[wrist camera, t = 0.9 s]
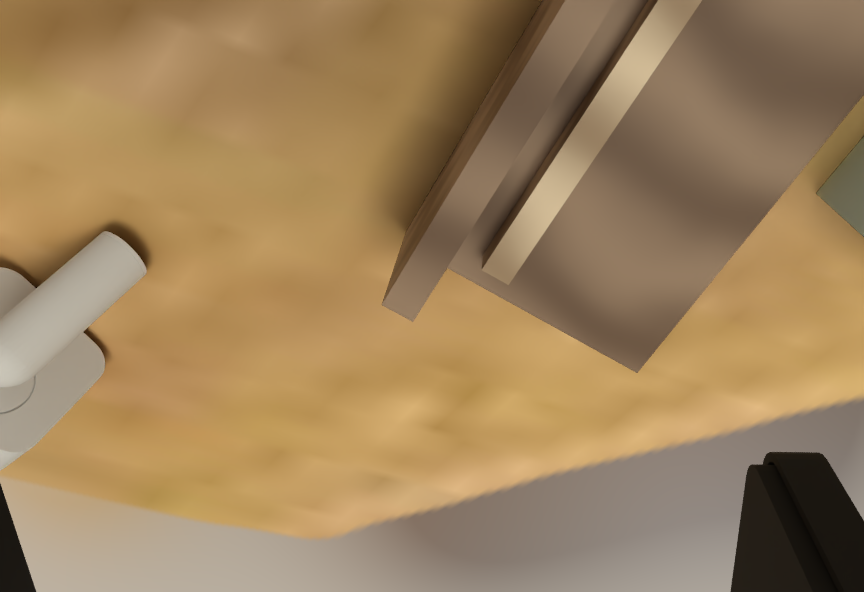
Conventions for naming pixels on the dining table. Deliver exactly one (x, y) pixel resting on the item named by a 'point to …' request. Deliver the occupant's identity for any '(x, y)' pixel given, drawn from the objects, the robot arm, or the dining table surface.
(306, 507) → the dining table surface
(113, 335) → the dining table surface
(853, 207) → the grey-green rectangular block
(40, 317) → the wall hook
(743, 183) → the board
